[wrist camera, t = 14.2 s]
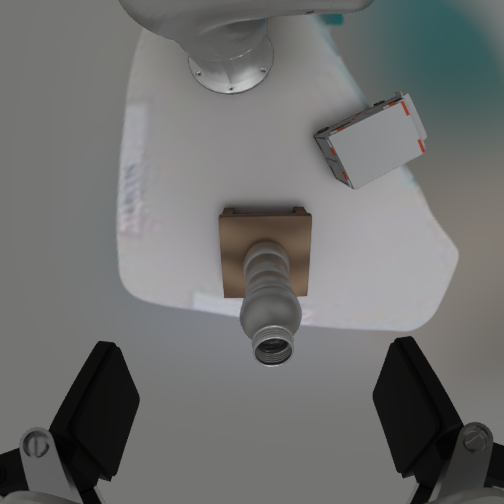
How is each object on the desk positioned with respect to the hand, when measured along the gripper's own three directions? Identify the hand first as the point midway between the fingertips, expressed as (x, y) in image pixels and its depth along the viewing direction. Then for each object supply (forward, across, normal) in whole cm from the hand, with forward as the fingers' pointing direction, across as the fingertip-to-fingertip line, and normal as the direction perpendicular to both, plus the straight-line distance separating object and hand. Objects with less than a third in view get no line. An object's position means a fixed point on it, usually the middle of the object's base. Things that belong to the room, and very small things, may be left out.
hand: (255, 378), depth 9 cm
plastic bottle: (+32, -2, +10) cm, 34 cm away
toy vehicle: (+39, -18, -8) cm, 44 cm away
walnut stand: (+38, -2, +10) cm, 40 cm away
